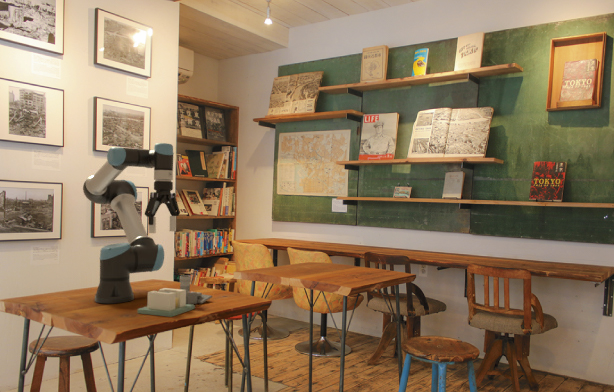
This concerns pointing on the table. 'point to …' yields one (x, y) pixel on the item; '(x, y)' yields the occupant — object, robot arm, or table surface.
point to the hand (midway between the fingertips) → (162, 232)
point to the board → (165, 312)
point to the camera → (192, 296)
